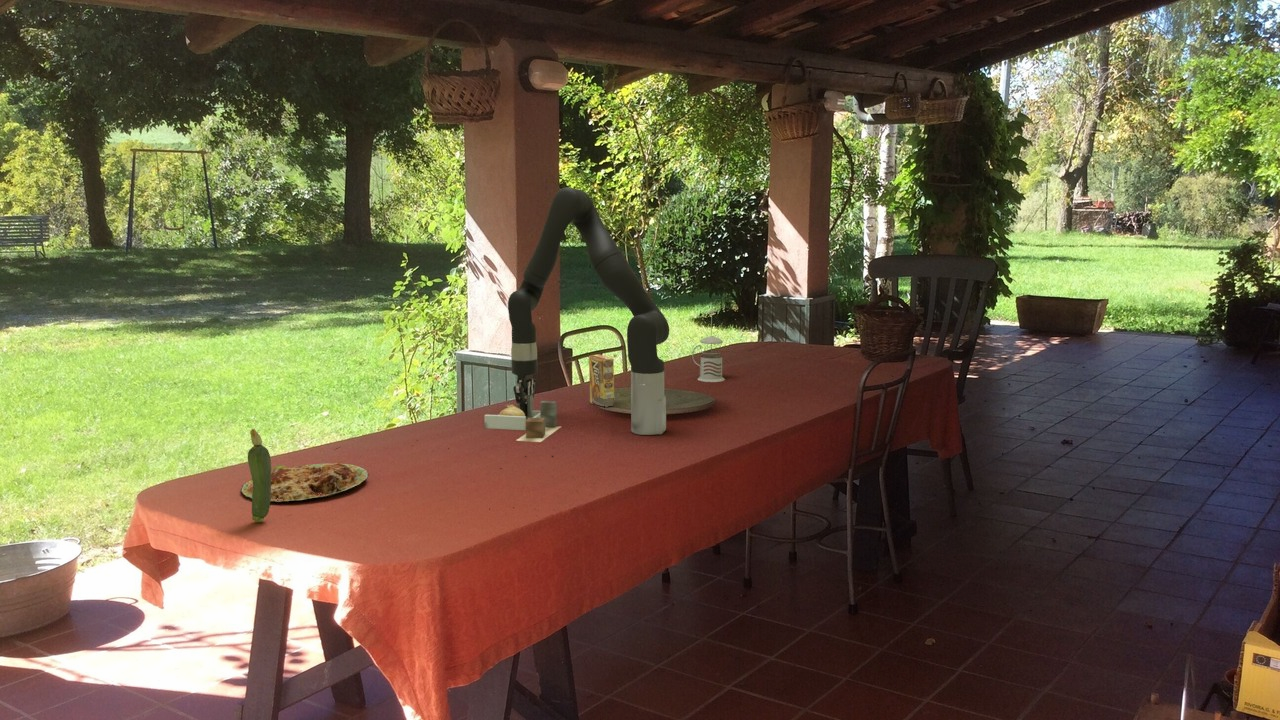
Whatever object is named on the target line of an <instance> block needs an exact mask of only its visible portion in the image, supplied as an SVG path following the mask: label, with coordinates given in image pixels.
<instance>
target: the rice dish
mask: <svg viewBox="0 0 1280 720" xmlns="http://www.w3.org/2000/svg"><path fill="white" fill-rule="evenodd" d="M369 476H370V475H369V471H368V470H367V469H365V467H361V466H357V465H355V464H354V463H341V462H337V463H335V462H334V463H315V464H314V463H313V464H304V465H297V466H291V467H287V466H286V465H283V464H280V465H277V466H275V467H274V468H273V471H271V498H272V499H277V498H278V499H283V500H284V501H277V500H271V501H270V502H276V503H277V502H279V503H281V502H290V501H292V502H293V501H303V500H309V499H314V498H326V497H327V496H328V497H331V496H333V495H336V494H339V493H341V492H345V491H348V490H349V489H352V488H355V486H356V487H357V486H359V485H360V484H361V483H362V482H364V481H366V479H367V478H368V477H369ZM251 484H253V481H252V478H251V479H250V480H248V481H246V482H245V483H243V484H242V485H241V488H240V492H241V493H242V495H244V497H247V498H249V499H252V493H253V487H251V488H250V489H248V487H249V486H250V485H251ZM318 493H319V494H320V493H322V494H328V495H321V496H318V495H319V494H318ZM328 497H327V498H328Z"/></svg>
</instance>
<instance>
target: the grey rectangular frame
mask: <svg viewBox="0 0 1280 720" xmlns="http://www.w3.org/2000/svg"><path fill="white" fill-rule="evenodd" d="M521 399H522V398H521ZM516 404H517V408H519V409H520V404H519V403H516ZM527 404H528V416H527V417H526V416H505V415H499V414H500V413H499V414H484V416H483V417H484V418H483V419H484V429H492V430H493V429H494V430H495V429H496V430H509V431H510V430H512V431H513V430H514V431H526V420H527V419H528V418H541V417H540V410H534V398H533V395H529V396H528V403H527Z"/></svg>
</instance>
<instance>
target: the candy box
mask: <svg viewBox="0 0 1280 720" xmlns="http://www.w3.org/2000/svg"><path fill="white" fill-rule="evenodd" d="M588 364H589V366H588V367H589V371H588V372H589V373H588V374H589V402H590V404H593V403H592V401H593V398H595V397H600V398H603V399H608V398H614V399H615V376H614V374H615V372H614V370H615V367H614V358H613V357H610V356H606V355H603V354H591V355H589V356H588Z"/></svg>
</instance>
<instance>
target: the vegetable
mask: <svg viewBox="0 0 1280 720" xmlns="http://www.w3.org/2000/svg"><path fill="white" fill-rule="evenodd" d="M249 434H250V439H251V444H252V445H253V446H252V447H251V448H250V449H249V450H248V452H247V463H248V464H247V465H248V467H249V472H250V475H251V479H252V481H253V493H252V498H251V515H252V516H251V517H252V518H251V519H252V521H254V522H255V523H257V522H258V523H262V522H263V521H264V519H265V518H266V517H267V515H268V514H269V510H270V508H271V507H270V505H271V502H272V501H271V472H272V461H271V454H270V451H269V450H268V448H266V447H265V446H264V445H263V440H262V438H261V435H260V434H259V432H257V430H256V429H255V428H251V429H250V432H249Z"/></svg>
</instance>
